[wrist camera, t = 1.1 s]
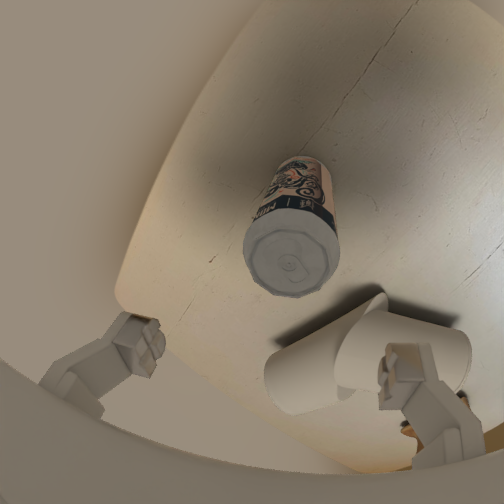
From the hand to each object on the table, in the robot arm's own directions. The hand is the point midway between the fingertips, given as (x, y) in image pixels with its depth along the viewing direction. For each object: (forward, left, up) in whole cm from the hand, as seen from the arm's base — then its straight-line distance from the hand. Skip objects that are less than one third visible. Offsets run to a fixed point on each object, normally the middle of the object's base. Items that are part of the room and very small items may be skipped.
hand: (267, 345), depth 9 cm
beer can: (0, 0, -17) cm, 17 cm away
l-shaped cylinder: (+17, +11, -17) cm, 26 cm away
